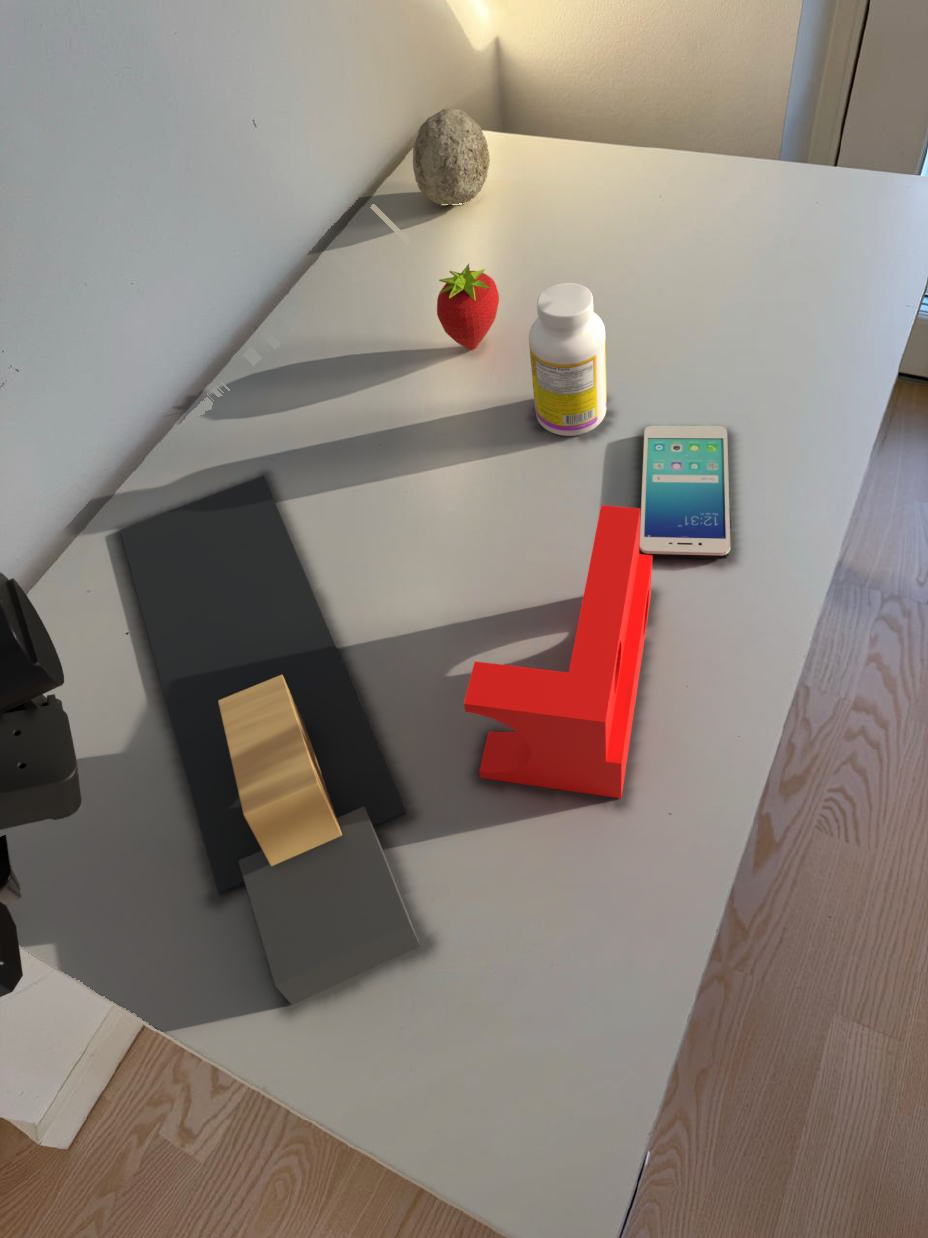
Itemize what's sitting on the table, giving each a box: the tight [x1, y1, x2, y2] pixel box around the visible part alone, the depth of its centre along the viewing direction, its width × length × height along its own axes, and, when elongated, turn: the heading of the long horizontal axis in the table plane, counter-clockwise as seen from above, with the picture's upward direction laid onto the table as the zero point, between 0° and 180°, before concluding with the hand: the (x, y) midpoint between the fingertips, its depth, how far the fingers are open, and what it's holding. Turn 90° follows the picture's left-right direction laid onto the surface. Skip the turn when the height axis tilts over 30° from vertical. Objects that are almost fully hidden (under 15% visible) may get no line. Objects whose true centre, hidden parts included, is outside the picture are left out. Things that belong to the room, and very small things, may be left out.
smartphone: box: [639, 425, 732, 560], centre depth 85 cm, size 8×1×15 cm
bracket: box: [463, 504, 653, 799], centre depth 72 cm, size 18×10×10 cm
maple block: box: [218, 675, 342, 866], centre depth 69 cm, size 5×5×13 cm
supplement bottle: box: [528, 282, 608, 437], centre depth 88 cm, size 7×7×13 cm
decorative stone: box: [412, 107, 491, 207], centre depth 114 cm, size 10×8×10 cm
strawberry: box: [436, 263, 500, 351], centre depth 97 cm, size 6×8×10 cm
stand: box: [239, 807, 421, 1005], centre depth 66 cm, size 9×9×4 cm
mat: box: [119, 475, 407, 895], centre depth 81 cm, size 38×14×1 cm, turn 23°
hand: (12, 895), depth 57 cm, fingers closed
